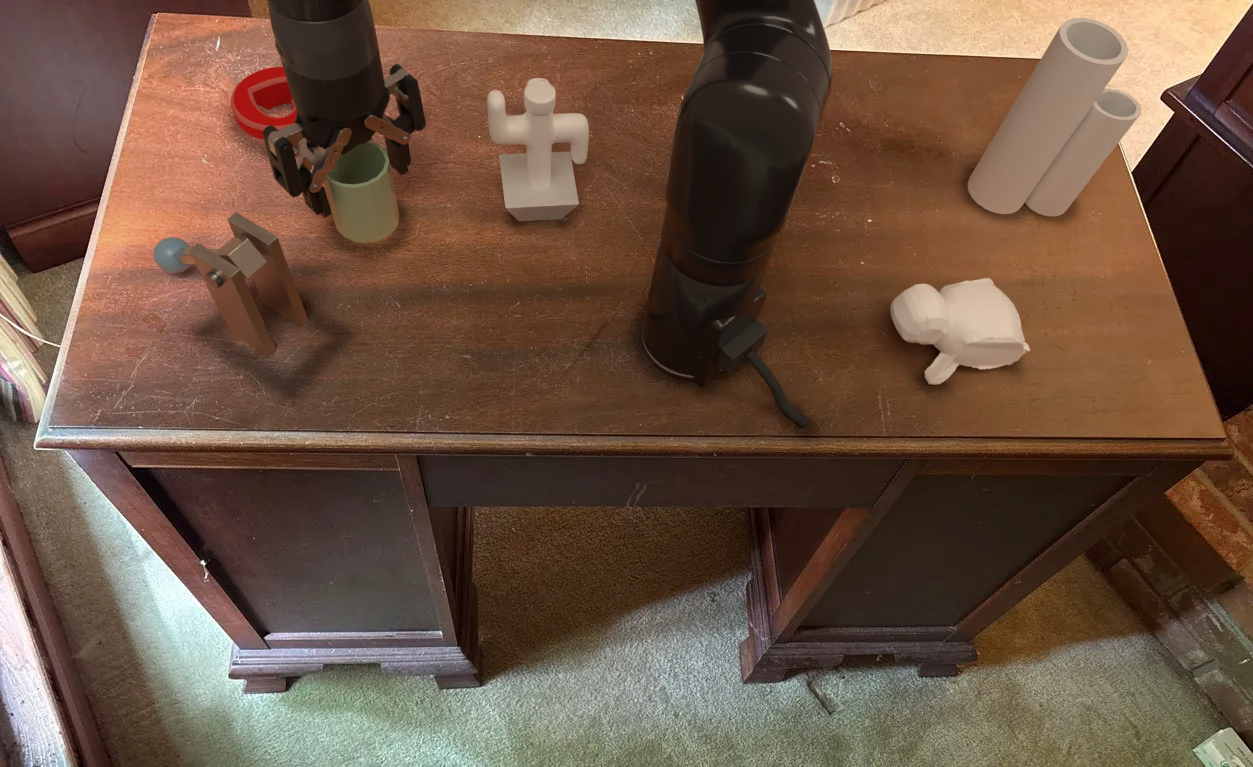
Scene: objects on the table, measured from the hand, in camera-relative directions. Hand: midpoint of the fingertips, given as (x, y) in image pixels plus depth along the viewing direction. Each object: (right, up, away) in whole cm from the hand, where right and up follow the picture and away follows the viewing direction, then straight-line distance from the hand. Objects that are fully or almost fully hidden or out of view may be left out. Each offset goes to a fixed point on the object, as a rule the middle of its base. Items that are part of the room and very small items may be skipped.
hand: (361, 189), depth 82 cm
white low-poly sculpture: (+56, -15, +4) cm, 58 cm away
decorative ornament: (-12, +10, +11) cm, 19 cm away
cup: (-1, -3, +5) cm, 6 cm away
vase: (+69, +3, +16) cm, 71 cm away
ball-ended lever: (-10, -9, -7) cm, 15 cm away
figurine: (+16, 0, +9) cm, 18 cm away
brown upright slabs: (-7, -14, -3) cm, 16 cm away
